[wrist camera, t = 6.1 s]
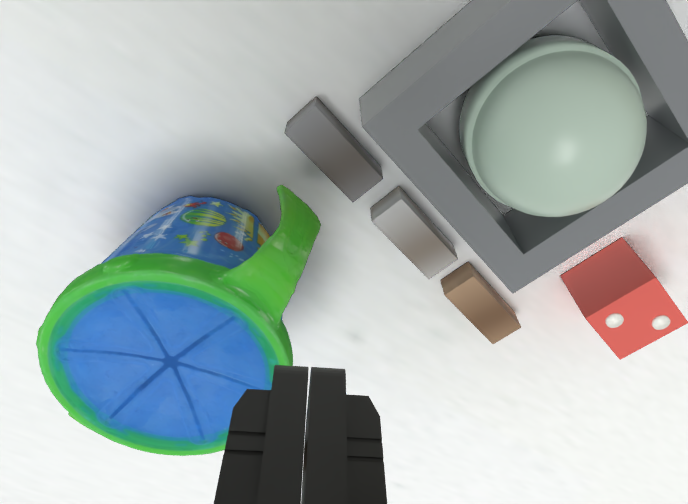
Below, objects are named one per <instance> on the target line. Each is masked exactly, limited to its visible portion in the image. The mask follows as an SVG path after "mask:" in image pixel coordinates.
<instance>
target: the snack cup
mask: <svg viewBox="0 0 688 504" xmlns="http://www.w3.org/2000/svg"><path fill="white" fill-rule="evenodd" d="M277 192H278V195H279V200H280V209H281V212H282V213H281V220H280V224H279V227H278V228H277V230H276V231H275V232H274V234H273V235H272V236H269V234H268V233H267V231H266V230H265V228H264V227H263V226H262V224H261V222H260V221H259V219H258V218H257V216H256V215H254V214H252V213H251V212H250V211H249V210H245V209H242V208H240V207H238V206H236V205H234V204H232V203H230V202H227V201H224V200H220V199H216V198H213V197H204V198H198V197H194V196H187V197H184V198H179V199H178V200H176V201H175V202H173V203H171V204H169V205H167V206H165V207H164V208H162V209H161V210H160V211H158V212H157V213H155V214H154V215H153V216H152V217H150V218H149V219H148V220H147V221H146V222H145V223H144V224H143V225H142V226H141V227H140V228H138V229H137V230H136V231H135V232H134V233H133V234H132V235H131V236H130V237H129V238H128V239H127V240H125V241H124V242H123V243H122V244H121V245H120V246H119V247H118V248H117V249H116V250H115V251H114V252H113V253H112V254H111V255H110V256H109V257H108V258H106V259H105V260H104V261H103V262H102V263H101V264H99V265H97V266H95V267H93V268H92V269H90V270H88V271H86V272H85V273H84V274H82V275H80V276H78V277H77V278H76V279H75V280H73V281H72V282H71V283H70V284H69V285H68V286H67V287H66V289H65V290H64V291H63V292H62V293H61V294H60V295H59V297H58V298H57V299H56V301H55V303H54V304H53V306H52V308H51V309H50V311H49V313H48V314H47V316H46V318H45V321H44V323H43V324H42V326H41V327H40V328H39V331H38V336H37V342H36V345H37V348H38V358H39V363H40V367H41V371H42V374H43V376H44V379H45V382H46V384H47V385H48V387H49V388H50V390H51V392H52V393H53V395H54V396H55V397H56V399H57V400H58V401H59V403H60V404H61V405H62V406H63V407H64V408H65V409H66V410H67V411H68V412H69V414H68V415H69V416H71V417H72V418H73V419H75V420H76V421H78V422H79V423H81V424H82V425H84V426H86V427H87V428H89V429H91V430H93V431H94V432H96V433H98V434H100V435H102V436H104V437H106V438H108V439H110V440H112V441H114V442H117V443H119V444H122V445H125V446H128V447H131V448H134V449H137V450H141V451H145V452H150V453H156V454H164V455H180V456H186V455H202V454H209V453H214V452H218V451H222V450H225V445H226V440H227V435H228V430H229V425H230V420H231V415H232V410H233V407H234V406H235V404H236V403H237V402H238V400H239V399H240V398H241V396H242V395H243V394H244V392H245V391H246V390H247V389H259V390H271V388H272V380H273V372H274V366H275V365H285V366H293V354H292V347H291V342H290V339H289V336H288V332H287V330H286V327H285V325H284V324H283V321H282V313H283V312H284V309H285V308H286V306H287V304H288V302H289V300H290V298H291V296H292V294H293V293H294V291H295V287H296V284H297V282H298V280H299V278H300V277H301V274H302V272H303V270H304V267H305V265H306V262H307V259H308V256H309V254H310V252H311V249H312V246H313V243H314V241H315V239H316V236H317V234H318V232H319V229H320V226H321V224H320V221H319V220H318V217H317V216H316V215H315V213H314V212H313V211H312V210H311V209H310V208H309V206H308V205H307V204H305V203H304V202H303V201H302V200H301V199H300V198H298V197H297V196H296V195H295V194H294V193H293V192H292V191H290V190H289V189H288V188H286V187H285V186H283V185H280V186H278V187H277Z"/></svg>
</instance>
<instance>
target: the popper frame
mask: <svg viewBox="0 0 688 504" xmlns="http://www.w3.org/2000/svg"><path fill="white" fill-rule="evenodd" d="M576 1H577V0H472V1H471V2H470V3H468V4H467V5H466V6H465V7H464V8H463V9H462V10H460V11H459V12H458V13H457V14H456V15H455V16H454V17H452V18H451V19H450V20H449V21H448V22H447V23H446V24H444V25H443V26H442V27H441V28H440V29H439V30H437V31H436V32H435V33H434V34H433V35H432V36H431V37H429V38H428V39H427V40H426V41H425V42H424V43H423V44H421V45H420V46H419V47H418V48H417V49H416V50H415V51H413V52H412V53H411V54H410V55H409V56H408V57H407V58H405V59H404V60H403V61H402V62H401V63H400V64H399V65H397V66H396V67H395V68H394V69H393V70H392V71H390V72H389V73H388V74H387V75H386V76H385V77H384V78H382V79H381V80H380V81H379V82H378V83H377V84H376V85H374V86H373V87H372V88H371V89H370V90H369V91H368V92H366V93H365V94H364V95H363V96H362V97H361V98H360V99H359V102H360V111H361V121H362V127H363V128H364V129H365V130H366V132H367V133H368V134H369V135H370V136H371V137H372V138H373V139H374V140H375V141H376V143H377V144H378V145H379V146H380V147H381V148H382V149H383V150H384V151H385V153H386V154H387V155H388V156H389V157H390V158H391V159H392V160H393V161H394V163H395V164H396V165H397V166H398V167H399V168H400V169H401V170H402V171H403V173H404V174H405V175H406V176H407V177H408V178H409V179H410V180H411V181H412V182H413V184H414V185H415V186H416V187H417V188H418V189H419V190H420V191H421V192H422V194H423V195H424V196H425V197H426V198H427V199H428V200H429V201H430V202H431V204H432V205H433V206H434V207H435V208H436V209H437V210H438V211H439V212H440V214H441V215H442V216H443V217H444V218H445V219H446V220H447V221H448V222H449V223H450V225H451V226H452V227H453V228H454V229H455V230H456V231H457V232H458V233H459V235H460V236H461V237H462V238H463V239H464V240H465V241H466V242H467V243H468V245H469V246H470V247H471V248H472V249H473V250H474V251H475V252H476V253H477V255H478V256H479V257H480V258H481V259H482V260H483V261H484V262H485V263H486V264H487V266H488V267H489V268H490V269H491V270H492V271H493V272H494V273H495V274H496V276H497V277H498V278H499V279H500V280H501V281H502V282H503V283H504V284H505V286H506V287H507V288H508V289H509V290H510V291H511V292H512V293H515V292H516V291H518V290H519V289H521V288H523V287H524V286H526V285H527V284H529V283H530V282H532V281H534V280H535V279H537V278H538V277H540V276H542V275H543V274H545V273H546V272H548V271H549V270H551V269H553V268H554V267H556V266H557V265H559V264H561V263H562V262H564V261H565V260H567V259H568V258H570V257H572V256H573V255H575V254H576V253H578V252H580V251H581V250H583V249H584V248H586V247H588V246H589V245H591V244H592V243H594V242H595V241H597V240H599V239H600V238H602V237H603V236H605V235H607V234H608V233H610V232H611V231H613V230H614V229H616V228H618V227H619V226H621V225H622V224H624V223H626V222H627V221H629V220H630V219H632V218H633V217H635V216H637V215H638V214H640V213H641V212H643V211H645V210H646V209H648V208H649V207H651V206H652V205H654V204H656V203H657V202H659V201H660V200H662V199H664V198H665V197H667V196H668V195H670V194H672V193H673V192H675V191H676V190H678V189H679V188H681V187H683V186H684V185H686V184H687V183H688V41H687V39H686V37H685V35H684V33H683V31H682V29H681V27H680V26H679V24H678V22H677V20H676V18H675V16H674V14H673V12H672V10H671V9H670V7H669V5H668V3H667V1H666V0H579V2H580V3H581V5H582V7H583V8H584V10H585V11H586V13H587V15H588V16H589V18H590V20H591V21H592V23H593V25H594V26H595V28H596V30H597V31H598V33H599V35H600V36H601V38H602V39H603V41H604V43H605V44H606V46H607V48H608V49H609V51H610V53H611V54H612V56H614V57H615V58H616V59H618V60H619V61H621V62H622V63H623V64H624V65H625V66H626V67H627V68H628V69H629V71H630V72H631V74H632V75H633V76H634V78H635V80H636V82H637V84H638V86H639V89H640V92H641V96H642V101H643V104H644V108H645V110H646V112H647V114H648V116H647V117H646V119H647V133H646V141H645V146H644V150H643V153H642V156H641V158H640V161H639V163H638V165H637V167H636V168H635V170H634V172H633V173H632V175H631V176H630V178H629V179H628V180H627V182H626V183H625V184H624V185H623V186H622V187H621V188H620V190H618V191H617V192H616V193H615V194H614V195H613V196H611V197H610V198H609V199H607V200H606V201H605V202H603V203H601V204H599V205H598V206H596V207H594V208H591V209H589V210H587V211H584V212H581V213H578V214H574V215H569V216H563V217H543V216H535V215H530V214H526V213H524V212H521V211H519V210H516V209H513V210H511V211H510V212H508V213H507V214H505V215H504V216H503V215H502V214H501V213H500V211H499V210H498V209H497V208H496V207H495V205H494V204H493V203H492V202H491V201H490V199H489V198H488V197H487V196H486V195H485V193H484V192H483V191H482V190H481V189H480V187H479V186H478V185H477V184H476V183H475V181H474V180H473V179H472V178H471V177H470V175H469V174H468V173H467V172H466V171H465V169H464V168H463V167H462V166H461V165H460V163H459V162H458V161H457V160H456V159H455V157H454V156H453V155H452V154H451V153H450V151H449V150H448V149H447V148H446V147H445V146H444V144H443V143H442V142H441V141H440V140H439V138H438V137H437V136H436V135H435V134H434V132H433V131H432V130H431V129H430V128H429V126H428V125H427V124H426V122H428V121H429V120H430V119H431V118H433V117H434V116H435V115H436V114H437V113H439V112H440V111H441V110H442V109H444V108H445V107H446V106H447V105H449V104H450V103H451V102H452V101H454V100H455V99H456V98H457V97H459V96H460V95H461V94H462V93H463V92H465V91H466V90H467V89H468V88H470V87H471V86H472V85H473V84H475V83H476V82H477V81H478V80H480V79H481V78H482V77H483V76H485V75H486V74H487V73H488V72H489V71H491V70H492V69H493V68H494V67H496V66H497V65H498V64H499V63H501V62H502V61H503V60H504V59H506V58H507V57H508V56H509V55H511V54H512V53H513V52H514V51H515V50H517V49H518V48H519V47H520V46H522V45H523V44H524V43H525V42H527V41H528V40H529V39H530V38H532V37H533V36H534V35H535V34H537V33H538V32H539V31H540V30H541V29H543V28H544V27H545V26H546V25H548V24H549V23H550V22H551V21H553V20H554V19H555V18H556V17H558V16H559V15H560V14H561V13H563V12H564V11H565V10H566V9H567V8H569V7H570V6H571V5H572V4H574V3H575V2H576Z"/></svg>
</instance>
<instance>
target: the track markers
mask: <svg viewBox="0 0 688 504" xmlns="http://www.w3.org/2000/svg"><path fill="white" fill-rule="evenodd" d="M285 134H286V135H287V136H288V137H289V138H290V139H291V140H292V141H293V142H294V143H295V144H296V145H297V146H298V147H299V148H300V149H301V150H302V151H303V152H304V153H305V154H306V155H307V156H308V157H309V158H310V159H311V160H312V161H313V162H314V164H315V165H316V166H317V167H318V168H319V169H320V170H321V171H322V172H323V173H324V174H325V175H326V176H327V177H328V178H329V179H330V180H331V181H332V182H333V183H334V184H335V185H336V186H337V187H338V188H339V189H340V190H341V191H342V192H343V193H344V194H345V195H346V196H347V197H348V198H349V199H350V200H351V201H352V202H354V201H356V200H357V199H358V198H359V197H361V196H362V195H363V194H364V193H366V192H367V191H368V190H369V189H371V188H372V187H373V186H375V185H376V184H377V183H378V182H380V181H381V180H382V179H383V176H382V170H381V166H380V165H379V164H378V163H377V162H376V161H375V160H374V159H373V158H372V157H371V155H370V154H369V153H368V152H367V151H366V150H365V149H364V148H363V147H362V146H361V145H360V143H359V142H358V141H357V140H356V139H355V138H354V137H353V136H352V135H351V134H350V133H349V132H348V130H347V129H346V128H345V127H344V126H343V125H342V124H341V123H340V122H339V121H338V120H337V119H336V117H335V116H334V115H333V114H332V113H331V112H330V111H329V110H328V109H327V108H326V107H325V105H324V104H323V103H322V102H321V101H320V100H319V99H318V98H317V97H315V98H314V99H313V100H311V101H310V102H309V103H308V104H307V105H306V106H305V107H304V108H303V109H302V110H300V111H299V112H298V113H297V114H296V115H295V116H294V117H293V118H292V119H291V120H289V121H288V122H287V125H286V129H285ZM370 210H371V220H372V222H373V223H374V224H375V225H376V226H377V227H378V228H379V229H380V230H381V231H382V232H383V233H384V234H385V235H386V236H387V237H388V238H389V240H390V241H391V242H392V243H393V244H394V245H395V246H396V247H397V248H398V249H399V250H400V251H401V252H402V253H403V254H404V255H405V256H406V257H407V258H408V259H409V260H410V261H411V262H412V263H413V264H414V265H415V266H416V267H417V268H418V269H419V270H420V271H421V272H422V273H423V274H424V275H425V276H426V277H427V278H428V279H430V278H432V277H433V276H434V275H436V274H437V273H439V272H440V271H442V270H443V269H445V268H446V267H448V266H449V265H451V264H452V263H453V262H455V261H456V260H458V258H457V255H456V252H455V249H454V246H453V245H452V243H451V242H450V241H449V240H448V239H447V238H446V237H445V236H444V235H443V234H442V233H441V231H440V230H439V229H438V228H437V227H436V226H435V225H434V224H433V223H432V222H431V221H430V220H429V218H428V217H427V216H426V215H425V214H424V213H423V212H422V211H421V210H420V209H419V208H418V206H417V205H416V204H415V203H414V202H413V201H412V200H411V199H410V198H409V197H408V196H407V195H406V193H405V192H404V191H403V190H402V189H401V188H400V187H399V186H398V187H397V188H396V189H394V190H393V191H392V192H391V193H389V194H388V195H387V196H385V197H384V198H383V199H382V200H380V201H379V202H378V203H376V204H375V205H374V206H373V207H371V208H370ZM441 284H442V288H443V291H444V295H445V296H446V297H447V298H448V299H449V300H450V301H451V302H452V303H453V304H454V305H455V306H456V307H457V308H458V309H459V310H460V311H461V312H462V313H463V314H464V316H465V317H466V318H467V319H468V320H469V321H470V322H471V323H472V324H473V325H474V326H475V327H476V328H477V329H478V330H479V331H480V332H481V333H482V334H483V335H484V336H485V337H486V338H487V339H488V340H489V341H490V342H491V343H492V344H494V343H496V342H498V341H499V340H501V339H503V338H504V337H506V336H508V335H509V334H511V333H513V332H514V331H516V330H518V329H519V328H521V326H520V324H519V321H518V319H517V317H516V314H515V312H514V311H513V310H512V309H511V308H510V306H509V305H508V304H507V303H506V302H505V301H504V300H503V299H502V298H501V297H500V296H499V294H498V293H497V292H496V291H495V290H494V289H493V288H492V287H491V286H490V285H489V284H488V283H487V281H486V280H485V279H484V278H483V277H482V276H481V275H480V274H479V273H478V272H477V271H476V270H475V268H474V267H473V266H472V265H471V264H470V263H469V262H467V263H465V264H464V265H462V266H461V267H459V268H458V269H456V270H455V271H453V272H452V273H450V274H449V275H448V276H446V277H445V278H443V279H442V280H441Z"/></svg>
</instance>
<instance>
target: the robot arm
mask: <svg viewBox="0 0 688 504" xmlns="http://www.w3.org/2000/svg"><path fill="white" fill-rule="evenodd" d="M307 385H308V367H300V366H285V365H275V366H274V372H273V380H272V388H271V390H259V389H247V390H246V391H245V392H244V394H243V395H242V396H241V398H240V399H239V400H238V402H237V403H236V404H235V406H234V407H233V410H232V415H231V420H230V425H229V430H228V435H227V440H226V445H225V452H224V455H223V460H222V465H221V470H220V475H219V480H218V485H217V490H216V495H215V500H214V504H387V497H386V485H385V472H384V462H383V448H382V436H381V424H380V416H379V414H378V412H377V410H376V409H375V407H374V405H373V403H372V402H371V400H370V398H369V396H360V395H346V374H345V369H334V368H318V367H311V375H310V386H309V397H308V408H307V419H306V402H307ZM305 419H306V432H305ZM304 436H305V447H304ZM303 453H304V464H303ZM302 470H303V482H302ZM301 487H302V499H301Z"/></svg>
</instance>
